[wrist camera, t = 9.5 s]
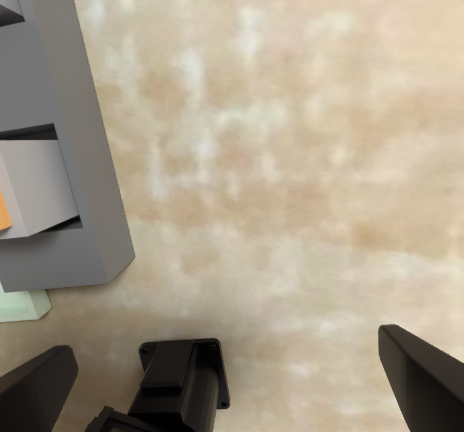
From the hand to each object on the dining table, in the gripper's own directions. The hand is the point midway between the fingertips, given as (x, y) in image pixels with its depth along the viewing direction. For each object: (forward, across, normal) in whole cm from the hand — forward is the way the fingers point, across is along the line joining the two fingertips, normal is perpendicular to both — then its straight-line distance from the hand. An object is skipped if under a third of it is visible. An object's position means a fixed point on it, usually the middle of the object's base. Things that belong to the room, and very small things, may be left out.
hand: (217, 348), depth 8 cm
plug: (+11, +12, -5) cm, 17 cm away
